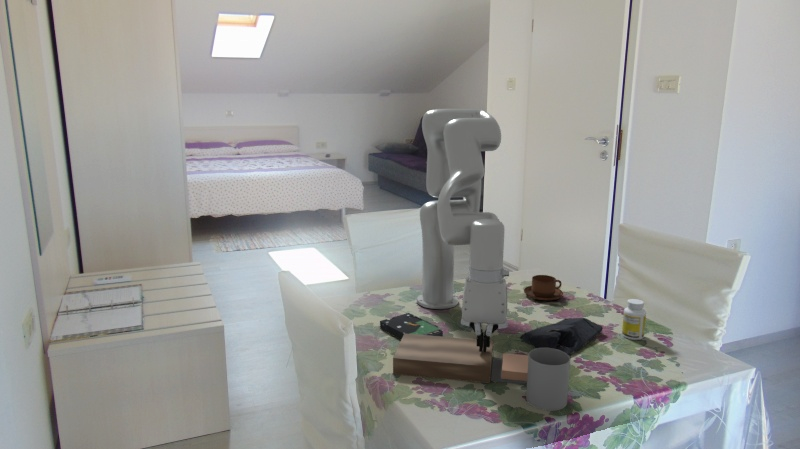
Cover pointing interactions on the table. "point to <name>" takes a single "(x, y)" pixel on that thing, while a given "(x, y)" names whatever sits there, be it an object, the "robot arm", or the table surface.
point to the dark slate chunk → (563, 335)
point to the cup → (547, 379)
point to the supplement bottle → (634, 320)
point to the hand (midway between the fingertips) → (483, 349)
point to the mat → (497, 373)
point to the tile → (515, 367)
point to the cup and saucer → (544, 288)
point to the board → (442, 358)
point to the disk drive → (409, 326)
